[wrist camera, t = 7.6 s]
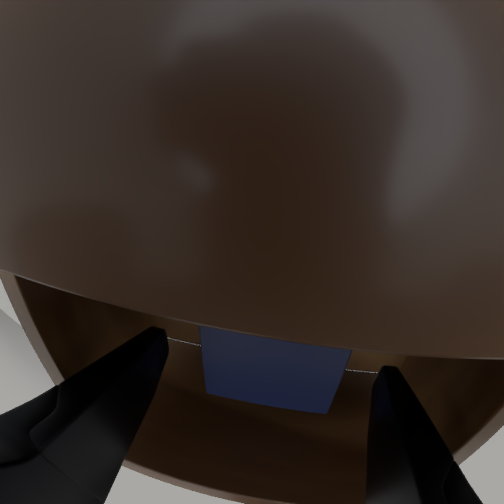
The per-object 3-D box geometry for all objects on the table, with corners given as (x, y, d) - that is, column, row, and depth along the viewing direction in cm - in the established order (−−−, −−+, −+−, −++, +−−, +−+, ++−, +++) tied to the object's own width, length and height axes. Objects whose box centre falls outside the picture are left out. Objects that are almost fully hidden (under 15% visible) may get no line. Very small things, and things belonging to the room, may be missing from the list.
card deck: (330, 366, 12) (327, 414, 10) (223, 348, 13) (205, 393, 11) (363, 249, 9) (371, 297, 7) (220, 230, 10) (192, 271, 8)
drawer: (374, 432, 16) (370, 532, 10) (164, 396, 18) (121, 483, 13) (506, 107, 7) (663, 173, 1) (112, 67, 9) (-60, 98, 3)
